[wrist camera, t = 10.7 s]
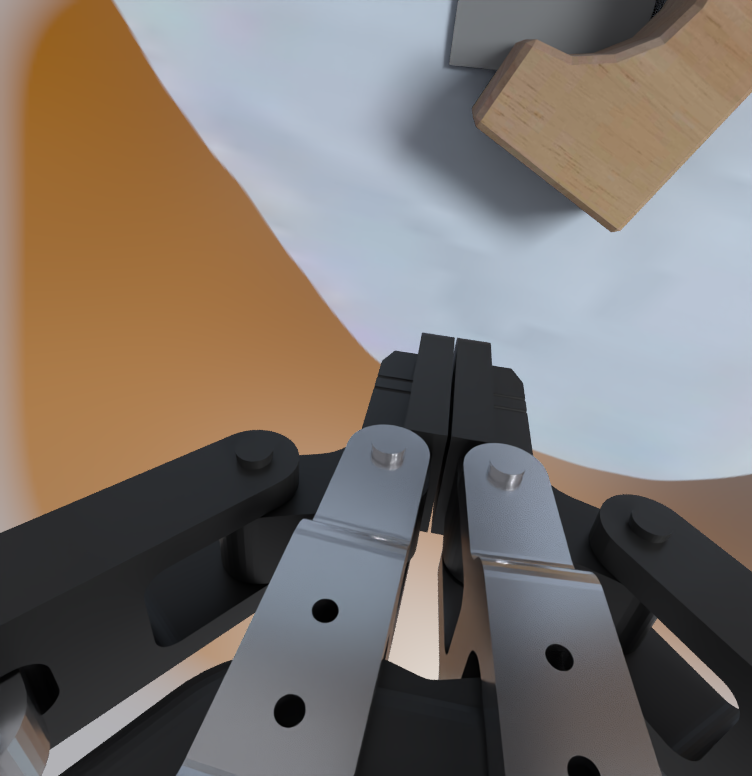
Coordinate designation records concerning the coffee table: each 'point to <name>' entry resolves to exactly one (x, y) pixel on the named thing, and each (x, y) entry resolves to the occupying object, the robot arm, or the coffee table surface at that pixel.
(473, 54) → the mat
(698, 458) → the coffee table surface
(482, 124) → the decorative block
